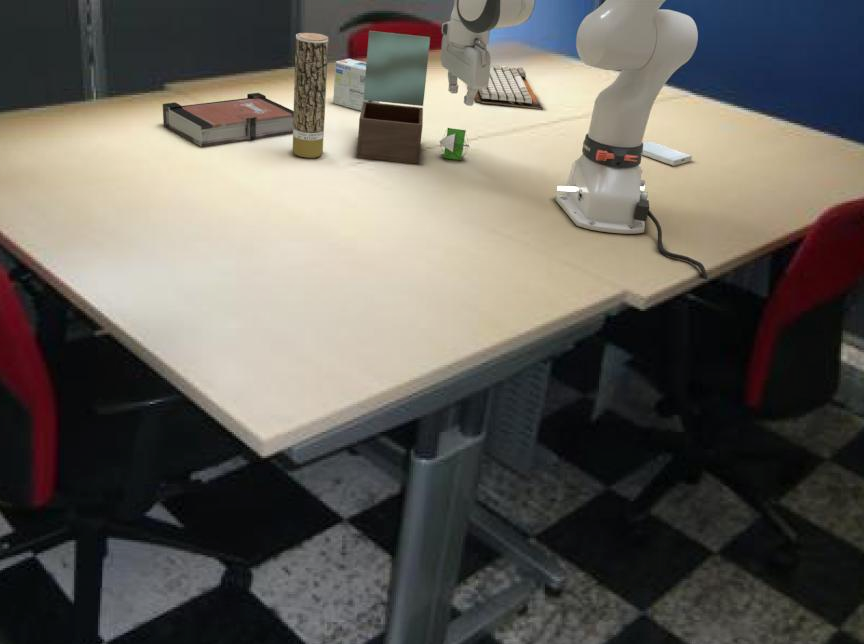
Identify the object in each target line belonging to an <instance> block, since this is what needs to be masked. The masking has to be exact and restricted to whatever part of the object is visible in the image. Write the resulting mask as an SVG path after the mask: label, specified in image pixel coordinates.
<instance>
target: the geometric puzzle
mask: <svg viewBox="0 0 864 644" xmlns="http://www.w3.org/2000/svg"><path fill="white" fill-rule="evenodd" d="M466 132H467V130H466V129H460V128H459V129H458V128H451V127H447V129H446V136H444V137H442V138H441V139H440V140H439V143H440V149H441V152H442V153H443V155H442V157H443V159H449V160H458V161H462V160H463V158H464V156H465V155H466V153H464V152H463V151H464V150H466V151H468V150H469V148H470V144H469V143H467V142H466V140H465V139H467V141H469V139H468V138H465V137H466V136H467V133H466ZM443 147H444V150H443ZM443 151H444V152H443ZM463 153H464V154H463Z"/></svg>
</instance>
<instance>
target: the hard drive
mask: <svg viewBox="0 0 864 644" xmlns="http://www.w3.org/2000/svg"><path fill="white" fill-rule="evenodd" d="M642 143H643V154H642V156H644V157H648V158H650V159H652V160H656V161H659V162H661V163H665V164H667V165H670V166H672V167H676V166H680V165H682V164H686V163H690V162H691V161H692V159H693V156H692V155H690V154H688V153H684V152H682V151H679V150H676V149H674V148H671V147H668V146H665V145H663V144H659V143H657V142H653V141H651V140H649V141H646V142H642Z"/></svg>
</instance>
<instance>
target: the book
mask: <svg viewBox="0 0 864 644" xmlns="http://www.w3.org/2000/svg"><path fill="white" fill-rule="evenodd" d="M246 96H247V97H246V98H245V97H244V98H235V99H228V100H219V101H213V102H211V101H210V102H204V103H203V102H202V103H194V104H187V105H182V104H180V103H177V102H168V103H162V119H163V120H162V121H163V127H165V128H167V129H168V130H170V131H172V132H174V133H176V134H178V135H179V136H180V137H183V138H185V139H186V140H188V141H189V142H192V143H194V144H195V145H197V146H198V147H200V148H205V147H212V146H218V145H225V144H226V145H227V144H232V143H238V142H244V141H255V140H257V139H265V138H271V137H278V136H283V135H285V136H286V135H291V134H293V115H294V109H290V108H288V107H286V106H284V105H281V104H280V103H277V102H276V101H273V100H272V99H270V98H267V97H266V95H264V94H262V93H260V92H254V93H252V92H251V93H247V95H246Z"/></svg>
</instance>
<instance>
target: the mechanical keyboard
mask: <svg viewBox="0 0 864 644" xmlns="http://www.w3.org/2000/svg"><path fill="white" fill-rule="evenodd" d="M526 78H527V72H526V71H525V69H524V67H523V66H519V67H517V68H516V66H509V67H508V65H502V66H500V65H495V64H490V76H489V84H488V86H487V88H486V89H478V92H477V94H476V96H475V98H474V101H476V103H477V102H478V103H481V104H485V105H496V106H506V107H515V108H516V107H517V108H524V109H533V110H543V107H542V106H541V103H540V102H539V100H538V99H537V97H536V95H535V93H534V91H533V90H532V88H531V85H530V84H529V82H528V80H527V79H526Z"/></svg>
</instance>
